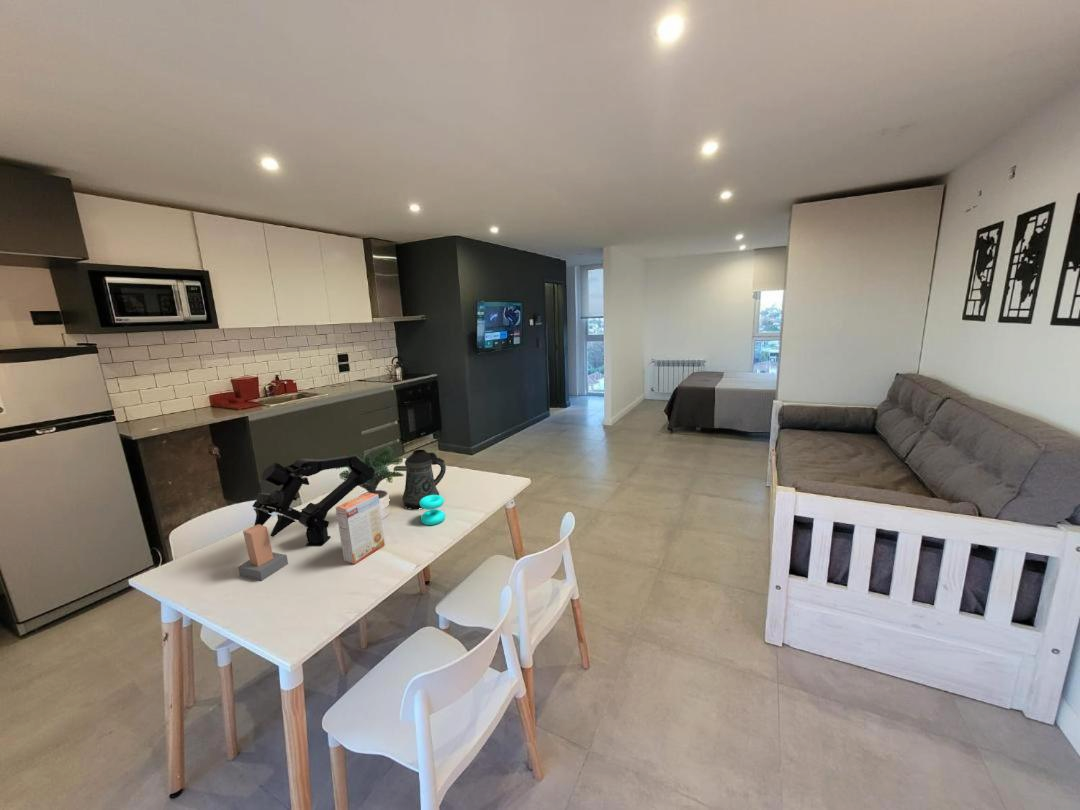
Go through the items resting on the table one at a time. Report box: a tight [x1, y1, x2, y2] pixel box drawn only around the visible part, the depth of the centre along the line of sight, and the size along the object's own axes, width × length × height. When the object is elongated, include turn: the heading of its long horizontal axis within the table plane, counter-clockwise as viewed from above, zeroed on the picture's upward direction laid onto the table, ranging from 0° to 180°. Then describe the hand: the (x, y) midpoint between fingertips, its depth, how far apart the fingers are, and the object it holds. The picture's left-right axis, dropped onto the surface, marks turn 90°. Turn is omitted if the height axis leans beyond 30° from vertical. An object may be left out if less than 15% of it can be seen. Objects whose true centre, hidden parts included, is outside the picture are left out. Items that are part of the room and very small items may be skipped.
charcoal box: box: [237, 551, 289, 582], centre depth 143 cm, size 10×10×4 cm
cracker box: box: [335, 492, 386, 565], centre depth 150 cm, size 14×6×21 cm, turn 153°
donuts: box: [419, 494, 446, 526], centre depth 175 cm, size 10×10×10 cm
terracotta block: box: [242, 524, 273, 566], centre depth 141 cm, size 5×5×12 cm
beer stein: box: [401, 449, 447, 510], centre depth 192 cm, size 16×19×25 cm
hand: (262, 534), depth 142 cm, fingers open, 9 cm apart
